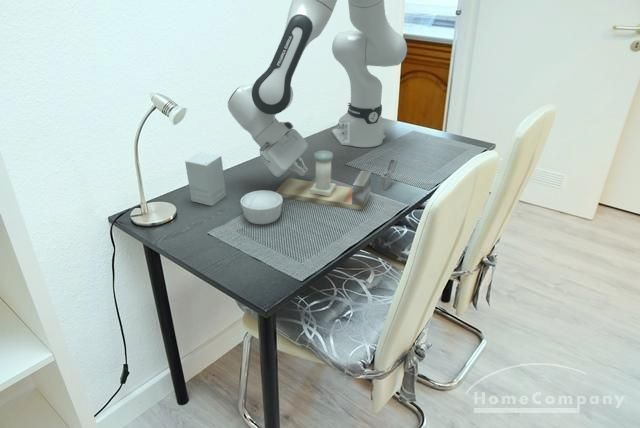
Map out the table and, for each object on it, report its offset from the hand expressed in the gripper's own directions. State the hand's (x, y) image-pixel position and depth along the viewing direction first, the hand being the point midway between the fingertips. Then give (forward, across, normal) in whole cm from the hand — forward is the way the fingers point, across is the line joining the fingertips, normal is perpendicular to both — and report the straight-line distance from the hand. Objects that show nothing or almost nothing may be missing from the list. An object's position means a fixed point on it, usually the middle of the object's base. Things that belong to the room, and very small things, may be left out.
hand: (305, 173), depth 131 cm
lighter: (+20, +13, -11) cm, 27 cm away
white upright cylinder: (+7, 0, -1) cm, 7 cm away
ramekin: (0, -17, +9) cm, 19 cm away
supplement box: (-13, -12, +22) cm, 29 cm away
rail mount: (+8, 0, 0) cm, 8 cm away
